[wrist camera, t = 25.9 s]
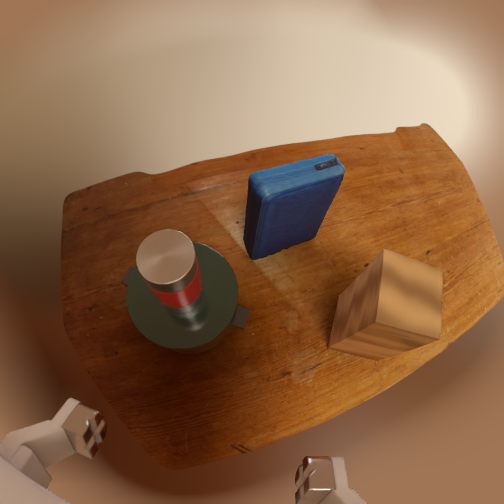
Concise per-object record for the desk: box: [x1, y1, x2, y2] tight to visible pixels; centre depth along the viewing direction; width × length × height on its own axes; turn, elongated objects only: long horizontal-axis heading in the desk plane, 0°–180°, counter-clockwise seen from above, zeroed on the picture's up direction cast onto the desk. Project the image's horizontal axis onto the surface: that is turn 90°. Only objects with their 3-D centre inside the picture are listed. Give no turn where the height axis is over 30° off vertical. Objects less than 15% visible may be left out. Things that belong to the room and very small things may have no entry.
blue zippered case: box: [243, 154, 345, 260], centre depth 45 cm, size 14×5×20 cm, turn 114°
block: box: [327, 249, 442, 360], centre depth 39 cm, size 10×10×18 cm
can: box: [136, 229, 204, 314], centre depth 34 cm, size 6×6×11 cm
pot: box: [122, 242, 250, 354], centre depth 43 cm, size 16×20×9 cm
